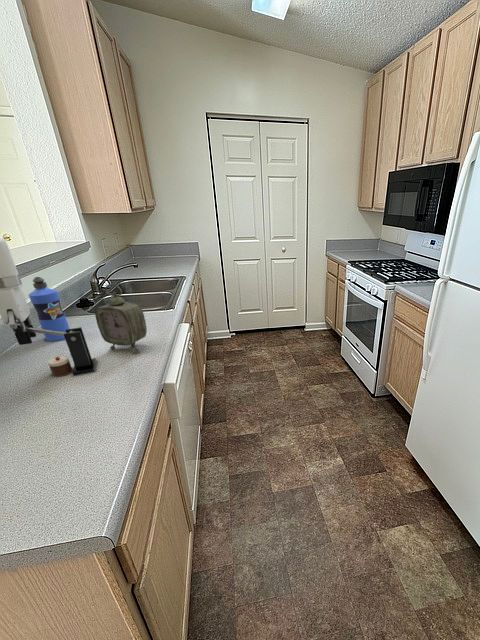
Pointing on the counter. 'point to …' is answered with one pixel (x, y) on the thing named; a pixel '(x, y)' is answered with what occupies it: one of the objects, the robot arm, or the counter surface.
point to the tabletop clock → (121, 321)
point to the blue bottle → (48, 309)
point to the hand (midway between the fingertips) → (28, 339)
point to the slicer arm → (44, 331)
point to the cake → (60, 366)
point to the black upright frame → (79, 351)
